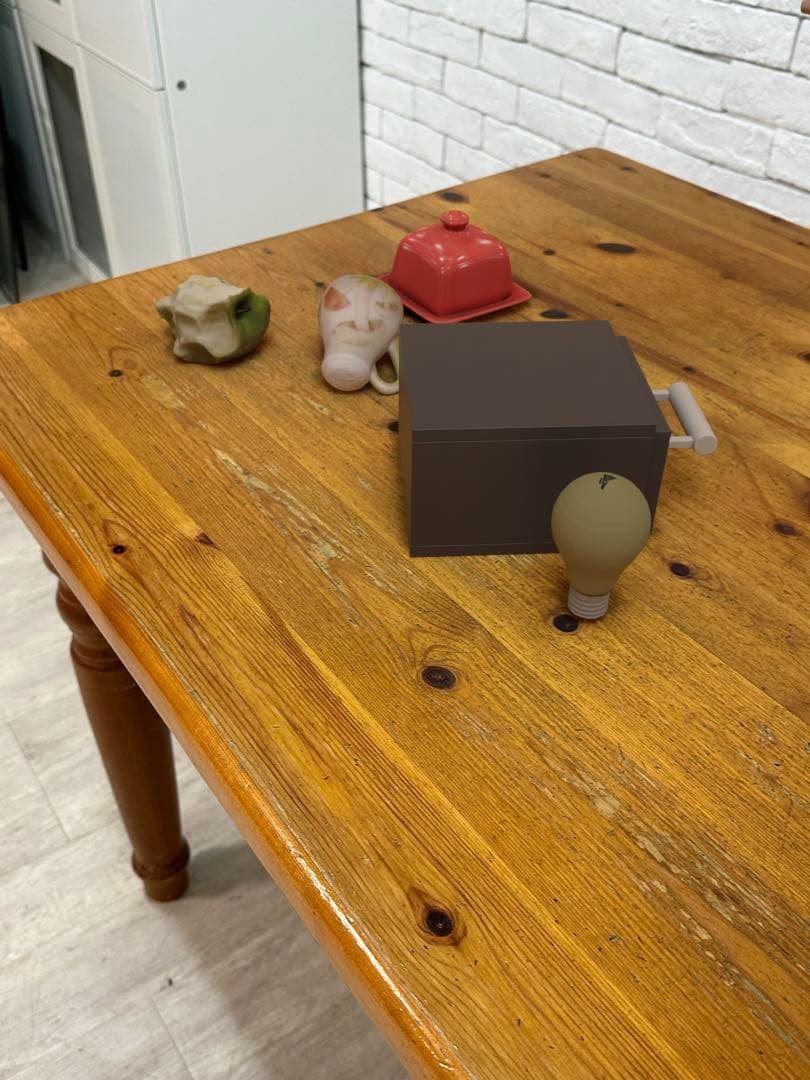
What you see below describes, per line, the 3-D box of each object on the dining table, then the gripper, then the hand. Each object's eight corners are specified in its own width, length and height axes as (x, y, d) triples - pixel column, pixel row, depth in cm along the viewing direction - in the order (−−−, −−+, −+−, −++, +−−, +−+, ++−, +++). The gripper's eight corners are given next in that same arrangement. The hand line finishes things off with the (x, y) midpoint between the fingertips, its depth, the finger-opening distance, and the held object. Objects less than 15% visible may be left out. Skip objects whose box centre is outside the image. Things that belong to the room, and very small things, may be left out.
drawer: (666, 429, 79) (685, 334, 74) (715, 531, 69) (740, 429, 64) (430, 434, 78) (433, 339, 73) (446, 539, 68) (450, 436, 63)
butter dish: (538, 308, 97) (546, 219, 92) (437, 340, 92) (440, 248, 86) (464, 265, 104) (468, 180, 99) (366, 293, 99) (365, 204, 94)
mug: (300, 403, 84) (285, 276, 82) (344, 398, 93) (331, 283, 91) (389, 394, 81) (374, 263, 80) (424, 389, 90) (412, 271, 89)
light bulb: (542, 578, 67) (559, 448, 60) (630, 588, 66) (657, 457, 60) (537, 639, 62) (554, 505, 56) (632, 650, 62) (660, 516, 55)
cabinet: (591, 437, 80) (608, 319, 74) (633, 550, 69) (657, 423, 63) (398, 441, 79) (399, 323, 73) (410, 557, 68) (412, 429, 62)
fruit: (286, 375, 89) (275, 298, 83) (178, 398, 88) (159, 322, 81) (263, 310, 95) (252, 234, 89) (161, 331, 93) (142, 255, 87)
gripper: (618, -280, 62) (589, -18, 70) (957, -274, 50) (873, 39, 59) (681, -279, 65) (647, -30, 74) (1013, -273, 53) (926, 22, 62)
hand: (749, 1), depth 66 cm, fingers open, 8 cm apart
